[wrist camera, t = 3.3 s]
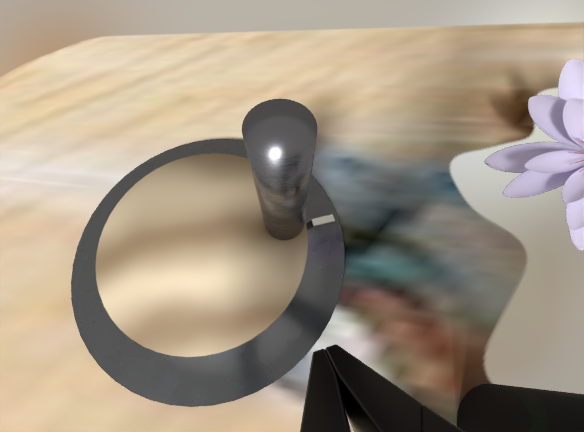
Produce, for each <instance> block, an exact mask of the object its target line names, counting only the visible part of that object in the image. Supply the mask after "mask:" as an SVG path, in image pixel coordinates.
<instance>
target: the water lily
mask: <svg viewBox="0 0 584 432" xmlns="http://www.w3.org/2000/svg"><path fill="white" fill-rule="evenodd" d="M558 93H559V98H558V97H554V96H548V95H537V96H532V97H530V98H529V100H528V109H529V113H530V116H531V118H532V119H533V121H534V122H535V124H536V125H537V126H538V127H539V128H540V129H541V130H542V131H544V132H545V133H546V134H547V135H549V136H550V137H551V138H553V139H555V140H557V141H559V142H535V143H527V144H520V145H515V146H511V147H508V148H505V149H502V150H499V151H497V152H496V153H494V154H492V155H490V156H489V157H488V158H487V159H486V160H485V164H486V165H488V166H490V167H491V168H494V169H496V170H500V171H505V172H514V173H522V174H521V175H519V176H518V177H516V178H515V179H514V180H513V181H511V182H510V183H509V185H508V186H507V187H506V188H505V190H504V192H503V195H504V196H506V197H513V198H519V197H520V198H521V197H529V196H534V195H538V194H541V193H544V192H547V191H550V190H552V189H555V188H557V187H560V186H562V185H564V186H563V189H562V199H563V201H564V202H565V203H567V207H566V220H567V224H568V226H569V232H570V237H571V239H572V242H573V244H574V245H575V247H576V248H577V249H579V250H584V62H583V61H580V60H576V59H571V60H569V61H568V62H567V63H566V64H565V65H564V67H563V69H562V71H561V74H560V77H559V84H558ZM560 142H562V143H560Z"/></svg>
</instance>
